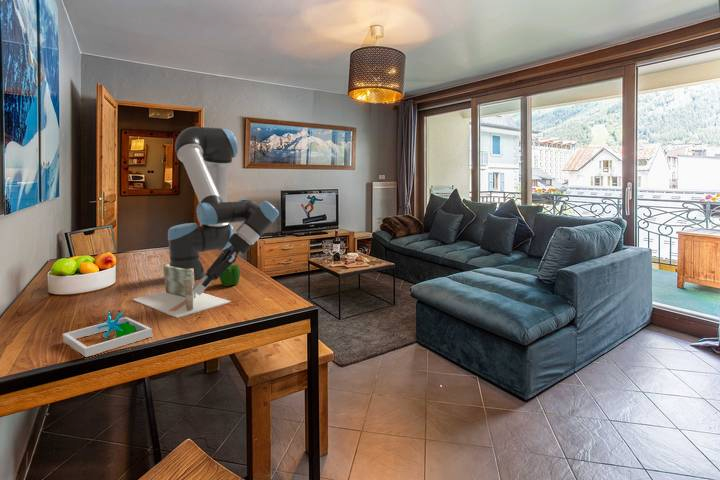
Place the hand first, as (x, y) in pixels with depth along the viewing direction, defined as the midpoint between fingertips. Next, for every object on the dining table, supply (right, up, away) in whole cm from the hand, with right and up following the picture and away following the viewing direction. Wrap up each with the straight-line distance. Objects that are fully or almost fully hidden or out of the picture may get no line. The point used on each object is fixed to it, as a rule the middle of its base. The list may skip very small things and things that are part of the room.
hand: (196, 292), depth 129 cm
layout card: (-8, -4, +7) cm, 11 cm away
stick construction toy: (-10, -9, -23) cm, 27 cm away
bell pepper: (+2, -1, +28) cm, 28 cm away
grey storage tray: (-12, -9, -26) cm, 30 cm away
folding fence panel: (-2, -4, +2) cm, 5 cm away
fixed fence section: (-12, -3, +13) cm, 18 cm away
